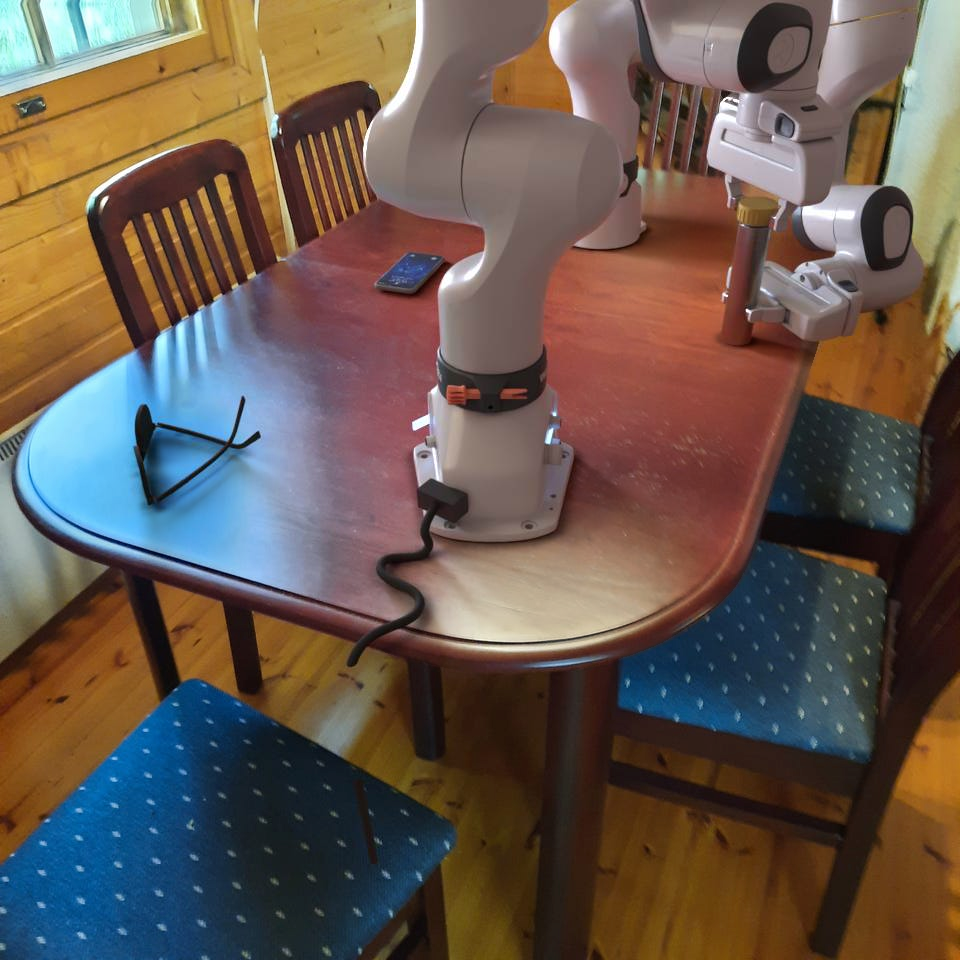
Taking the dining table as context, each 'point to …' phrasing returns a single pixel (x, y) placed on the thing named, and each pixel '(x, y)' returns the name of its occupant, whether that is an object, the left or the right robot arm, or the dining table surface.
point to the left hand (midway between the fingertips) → (755, 219)
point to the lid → (756, 210)
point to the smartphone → (409, 272)
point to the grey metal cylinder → (744, 282)
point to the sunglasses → (147, 427)
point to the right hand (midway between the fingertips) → (735, 307)
